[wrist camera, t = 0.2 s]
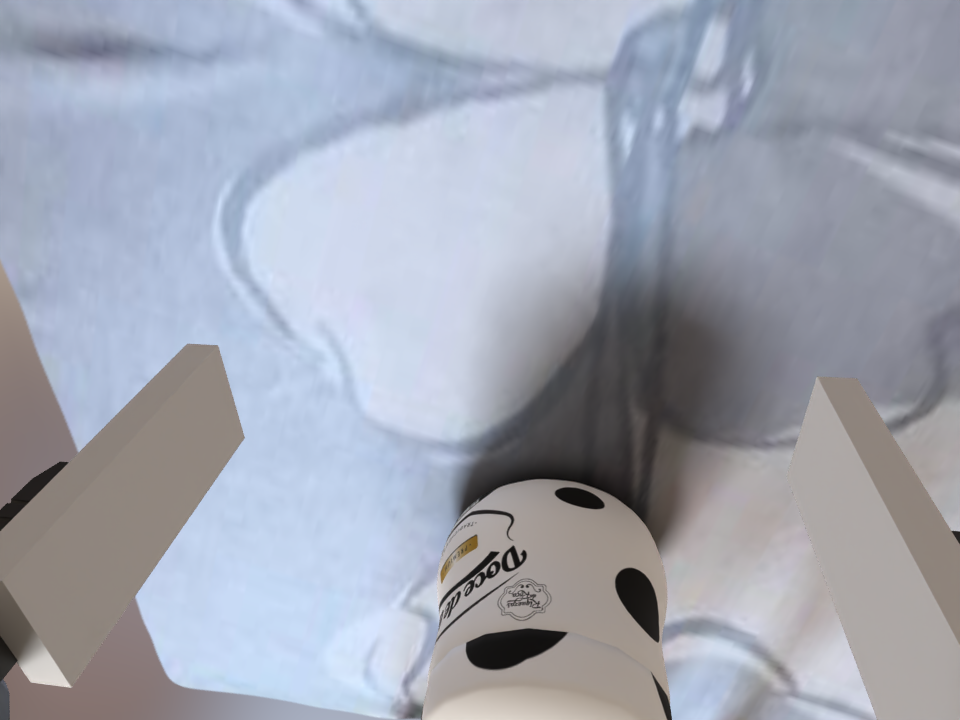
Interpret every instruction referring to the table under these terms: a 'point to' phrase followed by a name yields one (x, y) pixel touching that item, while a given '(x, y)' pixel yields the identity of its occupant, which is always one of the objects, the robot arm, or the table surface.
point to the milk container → (549, 610)
